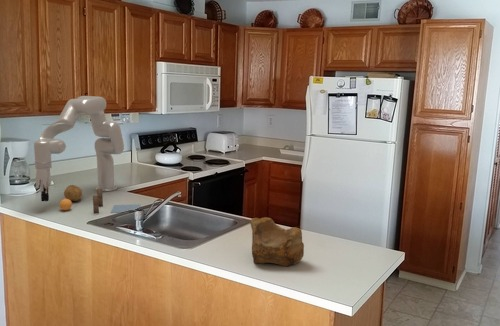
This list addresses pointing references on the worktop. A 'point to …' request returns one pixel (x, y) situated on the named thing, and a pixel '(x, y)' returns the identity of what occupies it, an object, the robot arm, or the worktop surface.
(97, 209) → the outer post
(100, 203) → the inner post
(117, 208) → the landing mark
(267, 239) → the rough brown rock
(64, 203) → the ball
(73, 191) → the potato
